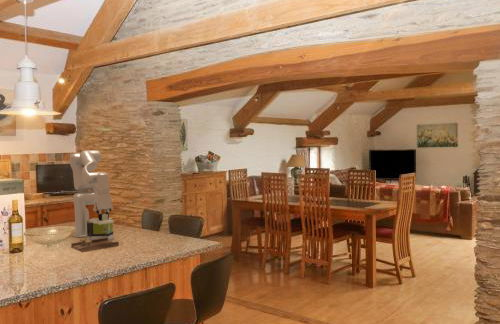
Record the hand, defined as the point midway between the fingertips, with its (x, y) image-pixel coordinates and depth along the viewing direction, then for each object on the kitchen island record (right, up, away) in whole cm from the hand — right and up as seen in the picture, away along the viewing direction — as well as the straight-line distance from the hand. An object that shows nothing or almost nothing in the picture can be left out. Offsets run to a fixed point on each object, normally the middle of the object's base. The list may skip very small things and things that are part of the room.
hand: (103, 219), depth 300 cm
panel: (-1, -2, -1) cm, 2 cm away
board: (-5, -17, -3) cm, 18 cm away
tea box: (-8, -17, +17) cm, 25 cm away
